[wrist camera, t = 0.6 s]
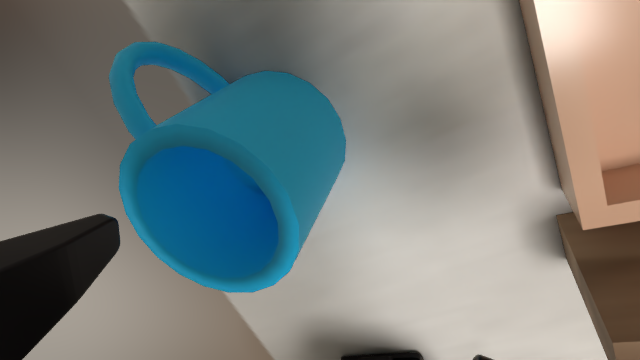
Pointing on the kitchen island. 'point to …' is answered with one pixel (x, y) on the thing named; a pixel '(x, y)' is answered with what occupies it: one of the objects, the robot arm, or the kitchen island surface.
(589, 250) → the wooden rectangular block
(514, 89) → the kitchen island surface
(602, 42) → the shallow wooden tray
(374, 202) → the kitchen island surface
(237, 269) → the mug
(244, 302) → the kitchen island surface
